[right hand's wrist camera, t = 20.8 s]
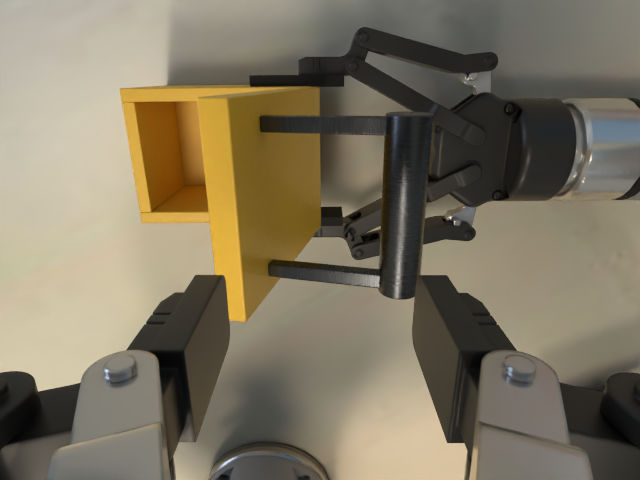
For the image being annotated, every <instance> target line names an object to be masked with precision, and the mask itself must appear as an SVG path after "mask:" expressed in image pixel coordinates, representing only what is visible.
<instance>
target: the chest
mask: <svg viewBox="0 0 640 480" xmlns="http://www.w3.org/2000/svg"><path fill="white" fill-rule="evenodd" d="M297 87H311V86H285V87H250V85H167V86H152V87H137V88H122V89H120V94H121V100H122V105H123V111H124V117H125V123H126V129H127V135H128V141H129V147H130V153H131V159H132V165H133V171H134V177H135V184H136V190H137V196H138V202H139V208H140V212H141V219H142V223H210V219H209V210H208V201H207V191H206V182H205V173H204V163H203V154H202V144H201V135H200V126H199V116H198V107H197V98H198V97H204V96H214V95H224V94H235V93H245V92H255V91H266V90H276V89H286V88H297Z"/></svg>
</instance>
